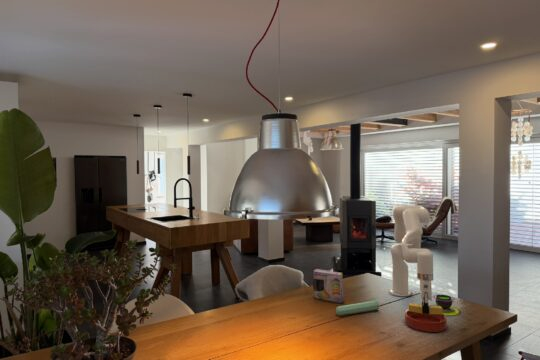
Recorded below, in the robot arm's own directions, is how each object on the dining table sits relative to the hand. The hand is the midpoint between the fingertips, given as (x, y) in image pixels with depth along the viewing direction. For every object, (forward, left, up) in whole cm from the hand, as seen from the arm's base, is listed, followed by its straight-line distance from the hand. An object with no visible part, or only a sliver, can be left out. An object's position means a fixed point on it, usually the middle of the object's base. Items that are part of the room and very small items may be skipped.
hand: (425, 311), depth 190 cm
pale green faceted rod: (-6, -35, -7) cm, 36 cm away
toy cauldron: (-24, +11, -7) cm, 27 cm away
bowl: (0, 0, -7) cm, 7 cm away
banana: (-1, 0, -1) cm, 1 cm away
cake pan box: (-22, -54, -7) cm, 59 cm away
